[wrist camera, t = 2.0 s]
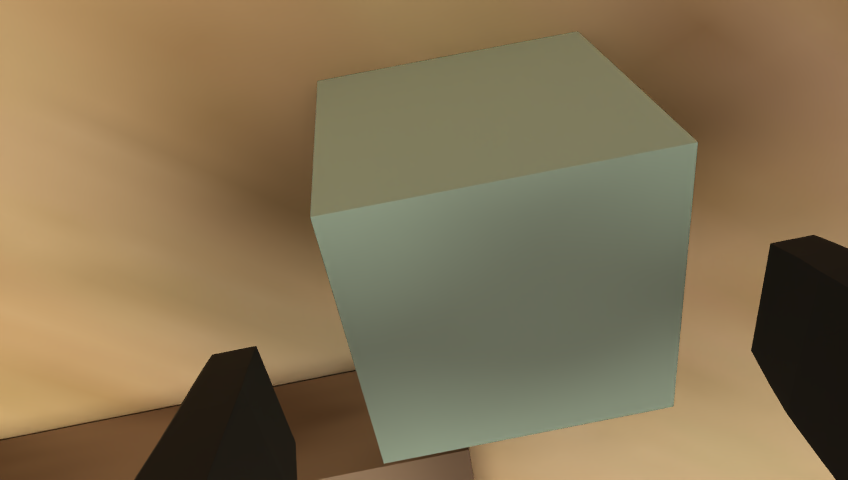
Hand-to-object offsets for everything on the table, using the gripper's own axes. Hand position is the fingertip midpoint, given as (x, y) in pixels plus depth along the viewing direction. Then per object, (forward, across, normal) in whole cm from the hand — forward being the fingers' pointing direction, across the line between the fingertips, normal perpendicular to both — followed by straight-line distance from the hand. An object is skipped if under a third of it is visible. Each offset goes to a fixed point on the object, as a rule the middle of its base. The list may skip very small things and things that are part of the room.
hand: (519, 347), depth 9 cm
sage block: (+5, 0, 0) cm, 5 cm away
